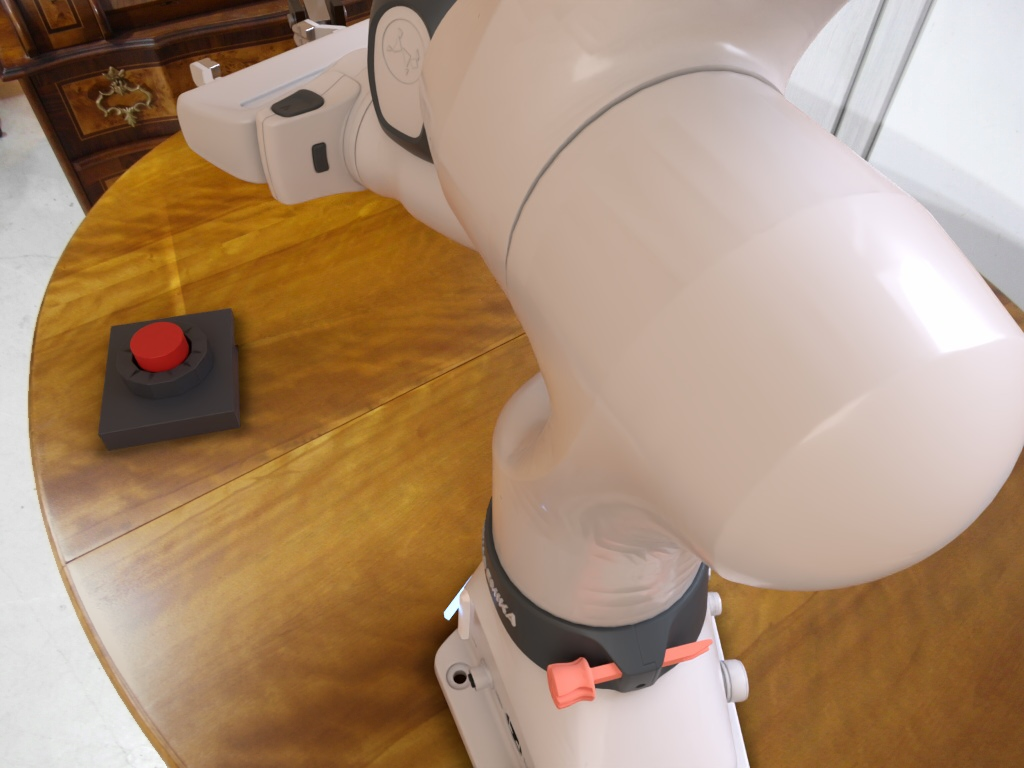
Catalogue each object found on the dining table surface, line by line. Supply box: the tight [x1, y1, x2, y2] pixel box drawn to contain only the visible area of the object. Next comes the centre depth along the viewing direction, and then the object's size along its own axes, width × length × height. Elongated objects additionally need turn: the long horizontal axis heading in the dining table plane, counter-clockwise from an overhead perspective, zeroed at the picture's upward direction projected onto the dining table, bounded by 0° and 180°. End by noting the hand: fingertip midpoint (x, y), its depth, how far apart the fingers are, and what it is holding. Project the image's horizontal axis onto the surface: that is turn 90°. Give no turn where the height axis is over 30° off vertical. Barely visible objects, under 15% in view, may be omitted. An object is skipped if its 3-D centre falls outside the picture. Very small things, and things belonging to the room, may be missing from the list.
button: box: [130, 322, 189, 372], centre depth 62 cm, size 4×4×2 cm
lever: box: [302, 0, 331, 25], centre depth 81 cm, size 14×4×4 cm, turn 22°
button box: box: [97, 307, 241, 452], centre depth 64 cm, size 12×10×4 cm
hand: (251, 49), depth 60 cm, fingers open, 8 cm apart
